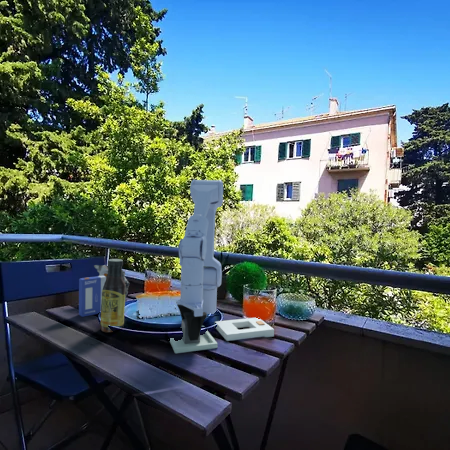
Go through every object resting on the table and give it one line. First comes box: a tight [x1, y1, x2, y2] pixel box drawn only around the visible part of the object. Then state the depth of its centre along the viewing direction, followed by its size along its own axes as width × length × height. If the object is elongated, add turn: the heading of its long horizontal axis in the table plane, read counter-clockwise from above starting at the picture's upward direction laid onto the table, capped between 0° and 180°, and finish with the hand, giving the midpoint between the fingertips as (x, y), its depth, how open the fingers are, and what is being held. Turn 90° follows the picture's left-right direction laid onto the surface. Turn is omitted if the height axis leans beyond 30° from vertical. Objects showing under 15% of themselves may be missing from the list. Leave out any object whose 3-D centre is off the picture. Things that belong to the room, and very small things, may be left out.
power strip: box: [214, 317, 275, 342], centre depth 89 cm, size 10×14×2 cm
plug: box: [181, 318, 200, 344], centre depth 82 cm, size 4×4×5 cm
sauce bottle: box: [100, 258, 126, 333], centre depth 88 cm, size 6×6×20 cm
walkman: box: [78, 275, 106, 318], centre depth 101 cm, size 8×3×12 cm, turn 135°
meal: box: [93, 264, 130, 303], centre depth 112 cm, size 15×4×13 cm, turn 65°
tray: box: [169, 325, 219, 354], centre depth 82 cm, size 13×11×2 cm
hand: (190, 334), depth 82 cm, fingers open, 6 cm apart
